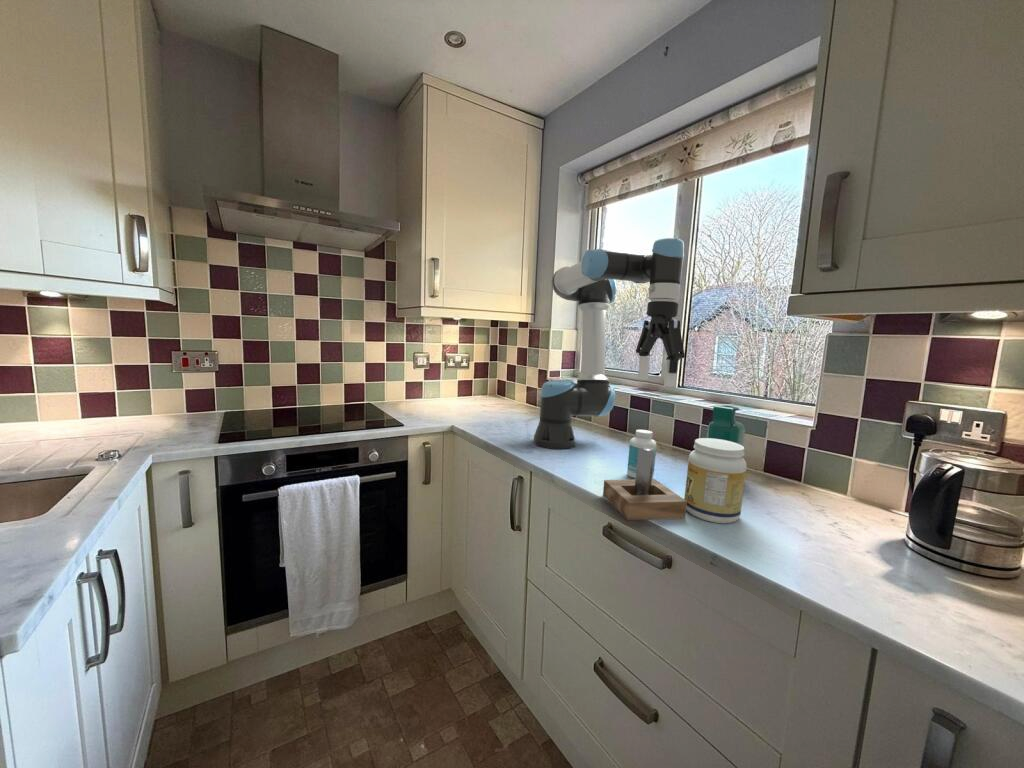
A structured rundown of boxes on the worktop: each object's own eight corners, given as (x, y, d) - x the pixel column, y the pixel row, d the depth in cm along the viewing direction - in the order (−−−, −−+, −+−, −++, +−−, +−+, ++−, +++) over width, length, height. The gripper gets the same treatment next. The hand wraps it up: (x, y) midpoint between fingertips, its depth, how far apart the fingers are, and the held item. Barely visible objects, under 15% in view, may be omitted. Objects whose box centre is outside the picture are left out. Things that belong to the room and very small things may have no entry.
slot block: (602, 495, 105) (604, 480, 104) (653, 493, 107) (654, 479, 107) (627, 520, 91) (629, 502, 91) (685, 518, 94) (687, 501, 93)
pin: (630, 502, 101) (635, 446, 99) (644, 502, 102) (649, 447, 100) (637, 509, 97) (643, 451, 96) (652, 508, 98) (658, 451, 96)
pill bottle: (655, 482, 116) (659, 435, 114) (627, 479, 118) (632, 433, 116) (651, 473, 123) (655, 429, 122) (626, 470, 125) (629, 427, 123)
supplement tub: (682, 499, 105) (689, 434, 103) (735, 508, 101) (744, 440, 99) (683, 518, 94) (691, 445, 91) (744, 530, 89) (753, 454, 87)
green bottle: (710, 471, 128) (718, 402, 126) (740, 479, 123) (749, 406, 120) (698, 478, 122) (707, 404, 119) (729, 486, 116) (739, 409, 113)
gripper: (627, 303, 118) (621, 376, 121) (677, 297, 94) (667, 389, 97) (652, 304, 120) (645, 377, 122) (706, 299, 95) (696, 389, 98)
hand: (655, 382), depth 110 cm, fingers open, 13 cm apart
